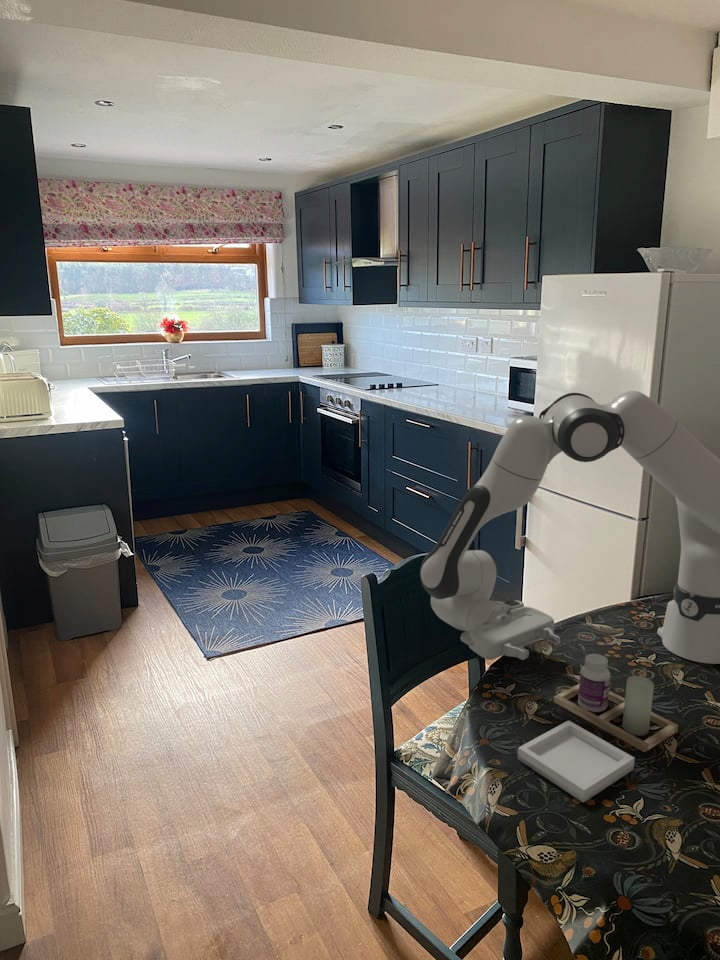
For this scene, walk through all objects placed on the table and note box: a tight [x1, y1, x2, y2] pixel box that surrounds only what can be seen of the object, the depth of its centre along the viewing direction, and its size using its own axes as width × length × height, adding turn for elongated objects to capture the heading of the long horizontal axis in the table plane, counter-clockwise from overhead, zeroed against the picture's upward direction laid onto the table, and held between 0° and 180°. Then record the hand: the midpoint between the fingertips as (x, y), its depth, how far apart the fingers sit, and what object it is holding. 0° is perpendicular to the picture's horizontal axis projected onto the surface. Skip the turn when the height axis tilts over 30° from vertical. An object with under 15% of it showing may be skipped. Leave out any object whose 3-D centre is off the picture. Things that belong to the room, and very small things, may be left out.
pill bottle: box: [577, 653, 611, 713], centre depth 132 cm, size 5×5×10 cm
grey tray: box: [517, 720, 636, 804], centre depth 116 cm, size 13×13×2 cm
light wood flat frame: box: [553, 683, 679, 753], centre depth 130 cm, size 10×19×1 cm, turn 36°
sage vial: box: [621, 675, 655, 736], centre depth 125 cm, size 4×4×9 cm
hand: (542, 648), depth 141 cm, fingers open, 8 cm apart
